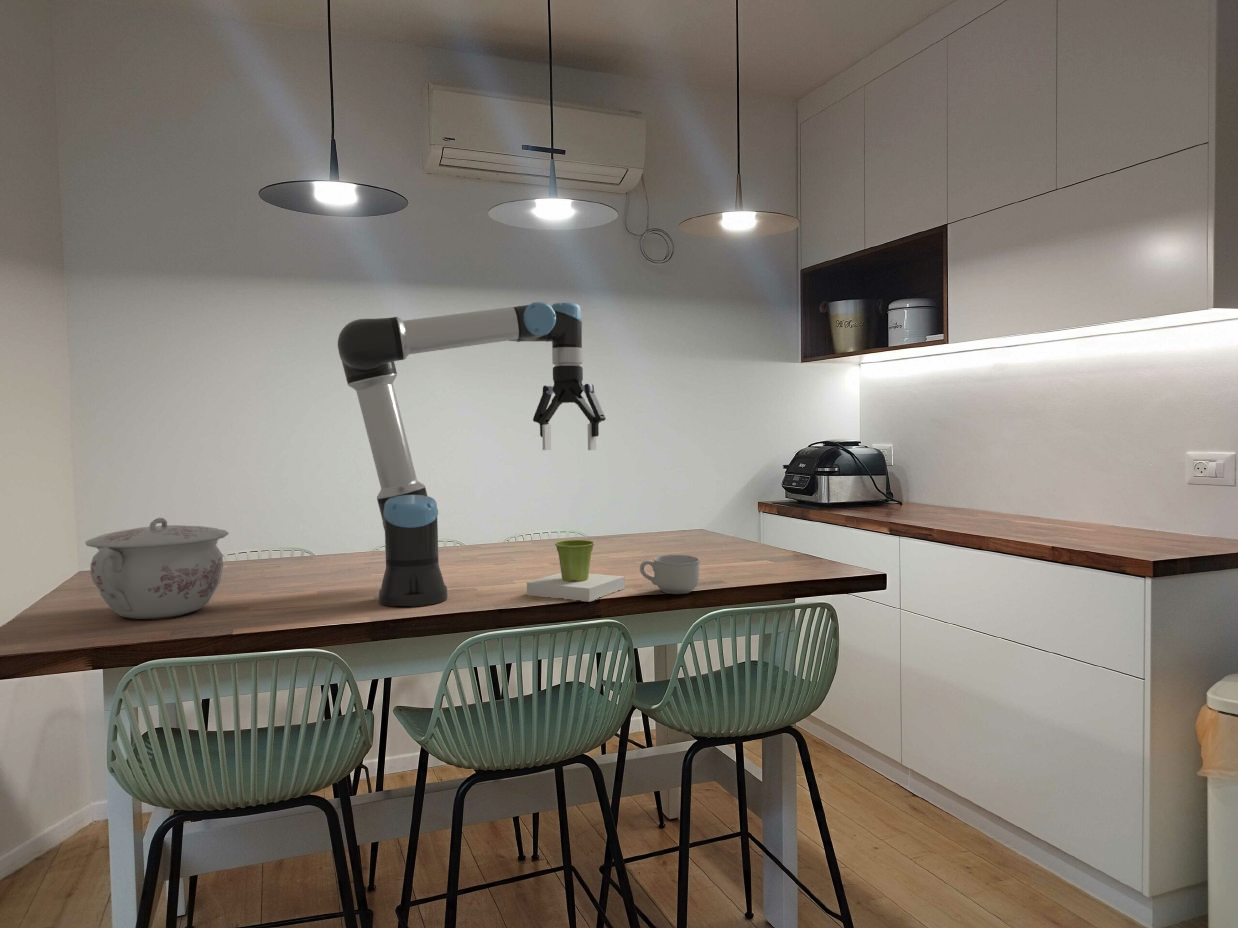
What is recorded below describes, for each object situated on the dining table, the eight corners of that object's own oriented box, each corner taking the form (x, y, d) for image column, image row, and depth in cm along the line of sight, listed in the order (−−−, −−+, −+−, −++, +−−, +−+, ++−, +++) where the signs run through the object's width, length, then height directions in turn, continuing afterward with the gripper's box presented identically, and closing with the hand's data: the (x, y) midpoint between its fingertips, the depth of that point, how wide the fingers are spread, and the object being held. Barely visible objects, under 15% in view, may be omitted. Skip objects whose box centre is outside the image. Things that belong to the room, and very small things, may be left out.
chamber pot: (214, 594, 207) (210, 508, 206) (247, 613, 186) (243, 517, 185) (76, 612, 190) (72, 518, 189) (95, 635, 168) (90, 529, 167)
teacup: (700, 587, 207) (700, 554, 206) (700, 596, 196) (699, 561, 195) (642, 587, 208) (641, 554, 208) (638, 596, 197) (638, 561, 197)
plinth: (526, 595, 200) (526, 582, 200) (565, 583, 214) (565, 571, 214) (589, 601, 192) (589, 588, 192) (625, 589, 206) (624, 576, 206)
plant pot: (603, 578, 203) (603, 542, 203) (574, 584, 196) (573, 546, 196) (576, 574, 210) (575, 538, 209) (547, 580, 203) (546, 543, 202)
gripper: (618, 364, 215) (619, 449, 216) (535, 368, 227) (537, 449, 228) (602, 362, 208) (603, 450, 209) (518, 367, 221) (520, 450, 222)
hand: (569, 450), depth 219 cm, fingers open, 13 cm apart
